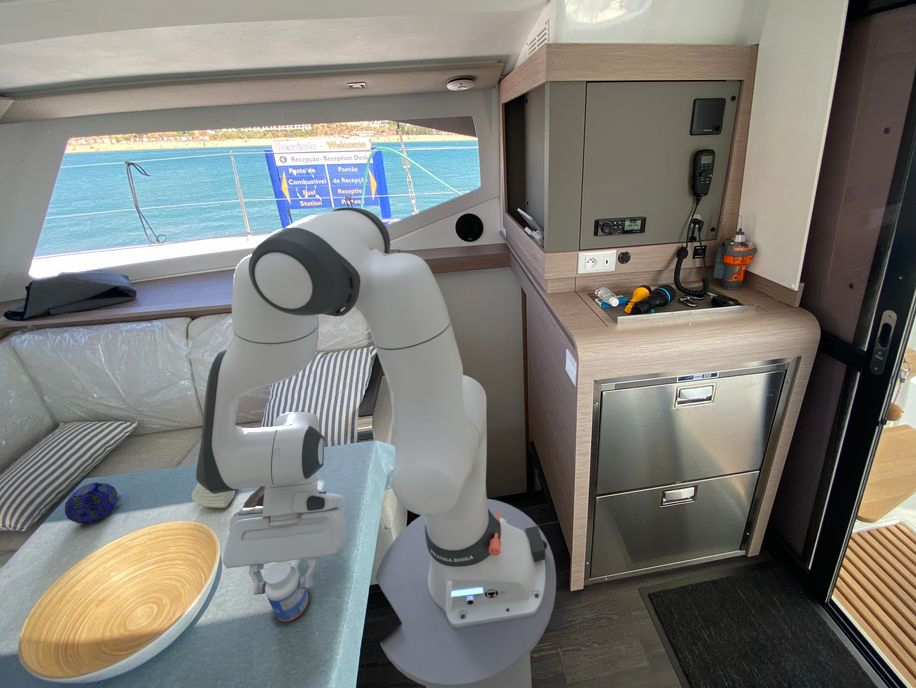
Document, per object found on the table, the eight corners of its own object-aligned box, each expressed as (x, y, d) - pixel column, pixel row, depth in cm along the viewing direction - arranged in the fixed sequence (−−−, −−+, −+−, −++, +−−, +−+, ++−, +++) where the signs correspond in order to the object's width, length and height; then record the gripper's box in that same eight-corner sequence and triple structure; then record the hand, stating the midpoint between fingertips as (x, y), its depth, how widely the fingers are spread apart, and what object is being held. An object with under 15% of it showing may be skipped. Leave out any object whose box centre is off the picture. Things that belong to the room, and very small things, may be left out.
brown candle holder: (312, 489, 99) (308, 479, 98) (284, 532, 88) (280, 522, 87) (267, 487, 100) (263, 478, 99) (234, 530, 89) (230, 520, 88)
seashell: (225, 469, 103) (239, 464, 99) (230, 504, 101) (244, 501, 97) (186, 479, 96) (198, 475, 92) (190, 517, 94) (203, 515, 90)
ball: (87, 506, 97) (71, 482, 94) (127, 494, 100) (113, 471, 97) (69, 534, 90) (52, 509, 87) (113, 521, 93) (98, 496, 90)
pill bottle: (272, 605, 75) (256, 570, 71) (303, 584, 78) (289, 549, 74) (281, 630, 71) (264, 594, 67) (313, 606, 74) (299, 571, 70)
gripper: (221, 511, 73) (208, 604, 68) (339, 497, 74) (336, 587, 69) (241, 508, 79) (231, 593, 74) (351, 495, 80) (348, 578, 75)
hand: (283, 590), depth 72 cm, fingers open, 6 cm apart
